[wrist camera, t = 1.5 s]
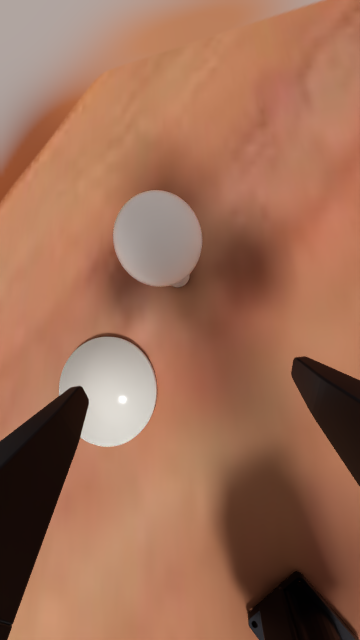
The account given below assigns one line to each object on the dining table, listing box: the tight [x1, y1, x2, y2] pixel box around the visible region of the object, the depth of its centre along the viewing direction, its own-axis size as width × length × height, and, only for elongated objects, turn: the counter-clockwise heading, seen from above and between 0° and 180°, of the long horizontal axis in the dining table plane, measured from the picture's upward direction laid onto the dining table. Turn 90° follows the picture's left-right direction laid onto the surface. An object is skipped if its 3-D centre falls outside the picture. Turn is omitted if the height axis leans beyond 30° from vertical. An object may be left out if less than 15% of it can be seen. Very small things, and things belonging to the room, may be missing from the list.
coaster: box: [59, 337, 157, 447], centre depth 21 cm, size 12×12×1 cm
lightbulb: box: [113, 190, 202, 287], centre depth 16 cm, size 6×6×11 cm
